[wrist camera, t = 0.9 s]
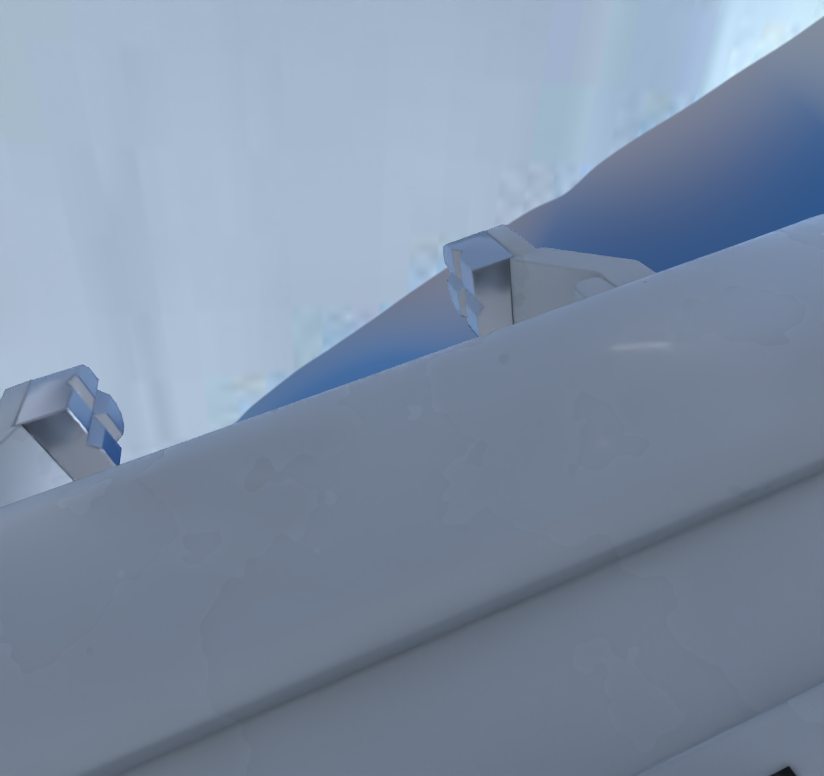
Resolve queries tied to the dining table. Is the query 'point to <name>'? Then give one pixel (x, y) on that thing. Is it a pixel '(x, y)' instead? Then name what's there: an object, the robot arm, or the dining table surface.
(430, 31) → the dining table surface
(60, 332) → the dining table surface
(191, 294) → the dining table surface
